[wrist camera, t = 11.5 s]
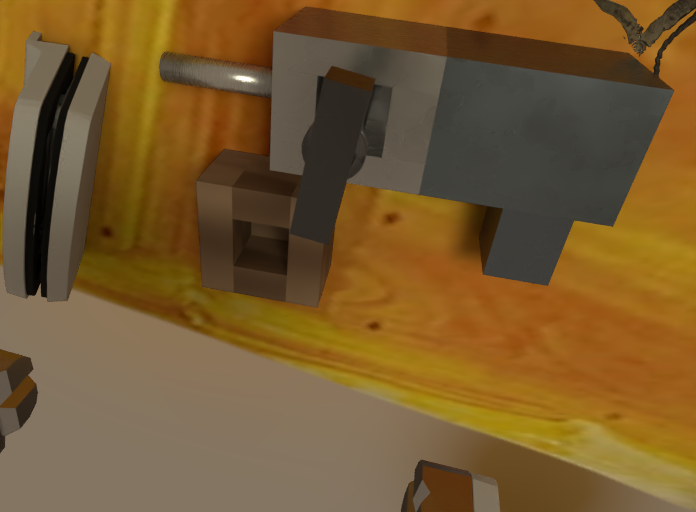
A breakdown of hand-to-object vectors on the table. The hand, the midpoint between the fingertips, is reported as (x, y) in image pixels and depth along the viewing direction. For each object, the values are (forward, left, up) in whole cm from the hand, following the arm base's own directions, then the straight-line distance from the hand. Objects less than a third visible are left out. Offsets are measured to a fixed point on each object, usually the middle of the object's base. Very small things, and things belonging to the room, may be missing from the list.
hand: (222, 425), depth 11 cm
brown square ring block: (-10, +5, -26) cm, 28 cm away
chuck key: (0, 0, -24) cm, 24 cm away
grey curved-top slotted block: (-9, +20, -26) cm, 34 cm away
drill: (-3, -1, -26) cm, 26 cm away
